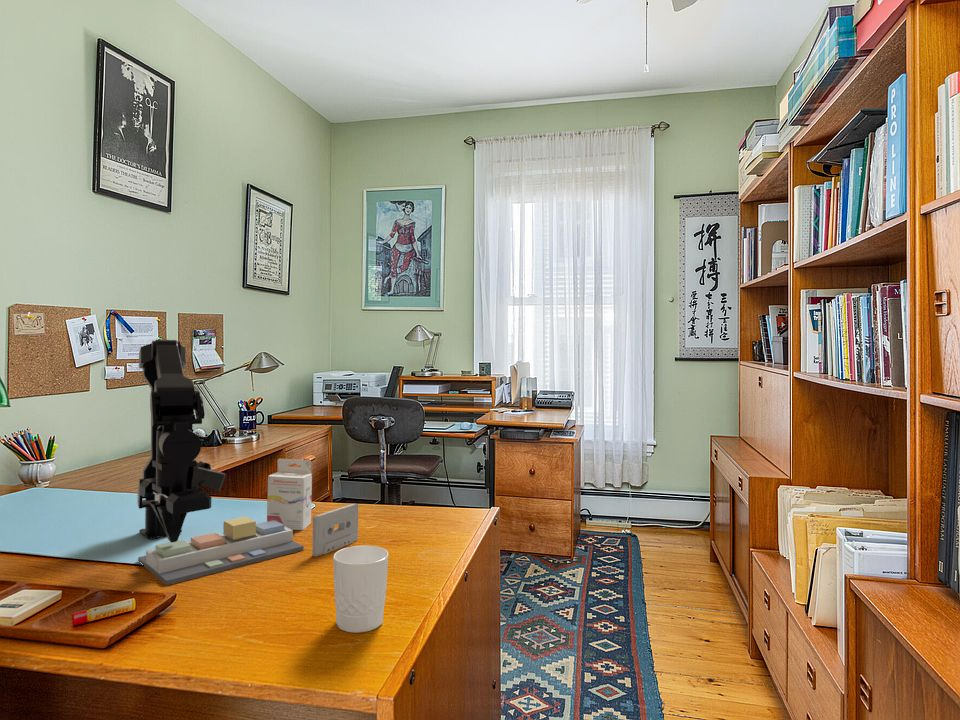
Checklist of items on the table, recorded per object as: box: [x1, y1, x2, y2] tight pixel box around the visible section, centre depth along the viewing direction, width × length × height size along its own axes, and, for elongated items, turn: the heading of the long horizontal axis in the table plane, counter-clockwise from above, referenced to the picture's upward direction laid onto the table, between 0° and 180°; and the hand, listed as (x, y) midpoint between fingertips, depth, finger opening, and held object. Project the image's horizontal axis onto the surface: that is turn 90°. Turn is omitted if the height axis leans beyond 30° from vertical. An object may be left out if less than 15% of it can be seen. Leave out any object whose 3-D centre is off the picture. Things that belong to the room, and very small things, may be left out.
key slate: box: [256, 520, 284, 536], centre depth 117 cm, size 4×4×3 cm
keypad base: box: [137, 526, 304, 586], centre depth 110 cm, size 15×25×3 cm, turn 136°
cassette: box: [311, 503, 359, 557], centre depth 116 cm, size 12×2×8 cm, turn 150°
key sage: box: [155, 539, 191, 558], centre depth 104 cm, size 4×4×3 cm
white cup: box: [332, 545, 389, 634], centre depth 84 cm, size 8×8×10 cm
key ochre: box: [222, 516, 257, 540], centre depth 112 cm, size 4×4×3 cm
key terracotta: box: [190, 532, 225, 550], centre depth 108 cm, size 4×4×3 cm
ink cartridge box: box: [266, 458, 313, 531], centre depth 129 cm, size 9×5×15 cm, turn 84°
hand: (173, 541), depth 104 cm, fingers closed
